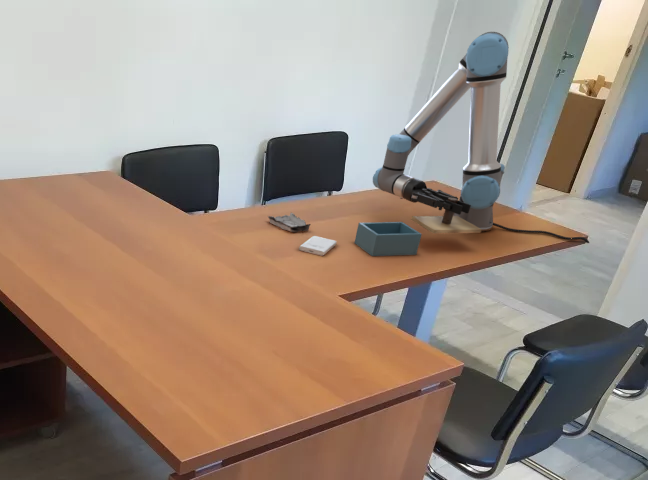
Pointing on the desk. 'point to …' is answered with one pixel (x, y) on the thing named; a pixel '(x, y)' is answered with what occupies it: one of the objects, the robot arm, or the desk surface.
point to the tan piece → (446, 223)
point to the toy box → (387, 238)
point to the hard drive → (317, 245)
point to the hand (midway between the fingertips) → (464, 209)
